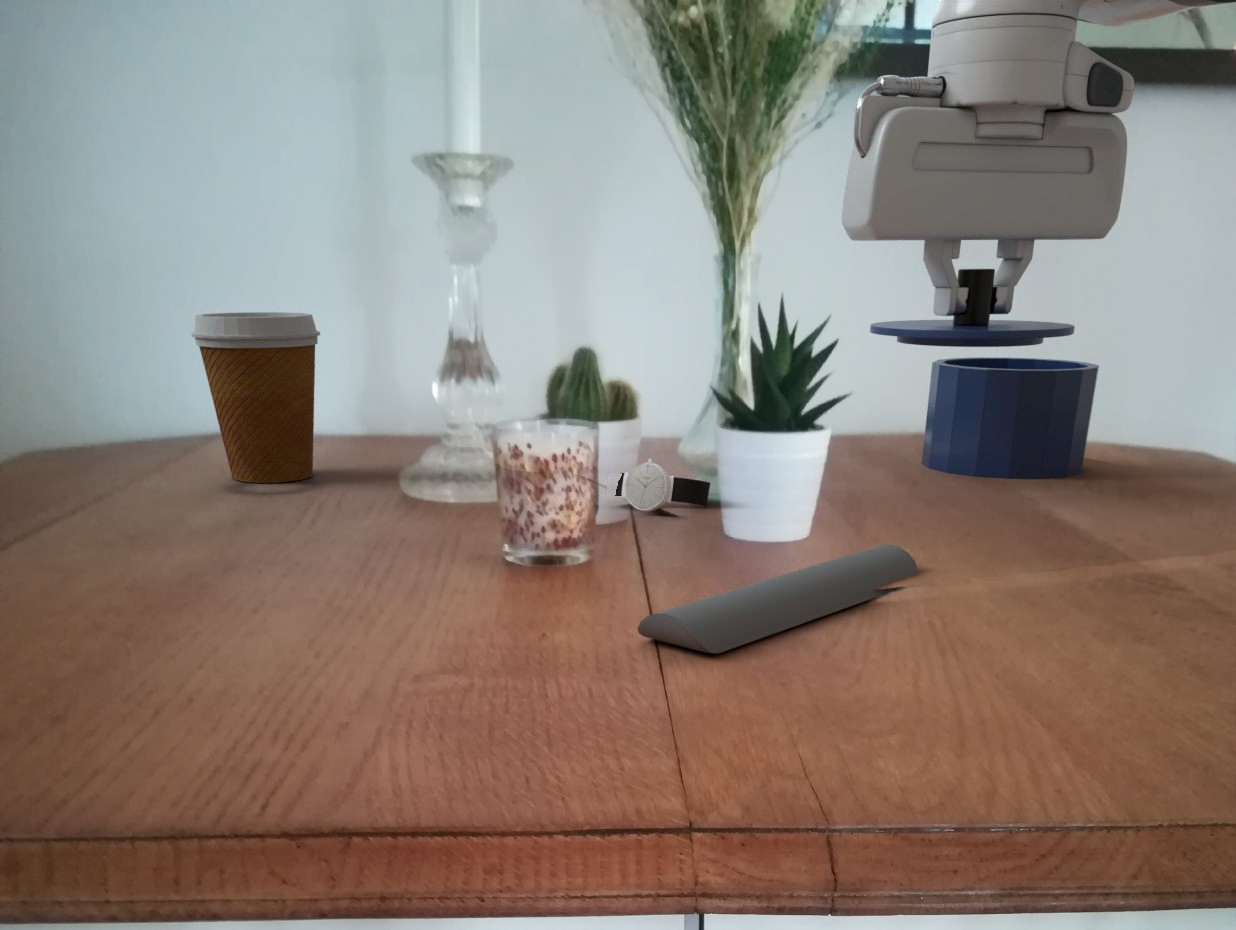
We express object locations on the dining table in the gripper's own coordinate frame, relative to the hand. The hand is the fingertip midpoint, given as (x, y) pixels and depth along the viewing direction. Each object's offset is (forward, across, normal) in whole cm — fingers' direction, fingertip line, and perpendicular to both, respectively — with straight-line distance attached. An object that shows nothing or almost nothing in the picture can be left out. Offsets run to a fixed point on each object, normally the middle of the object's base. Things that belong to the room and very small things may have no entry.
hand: (972, 314), depth 84 cm
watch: (+13, -21, +5) cm, 25 cm away
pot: (+13, +12, +9) cm, 20 cm away
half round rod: (+13, -26, -22) cm, 37 cm away
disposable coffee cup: (+12, -44, +29) cm, 54 cm away
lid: (+1, 0, 0) cm, 1 cm away
